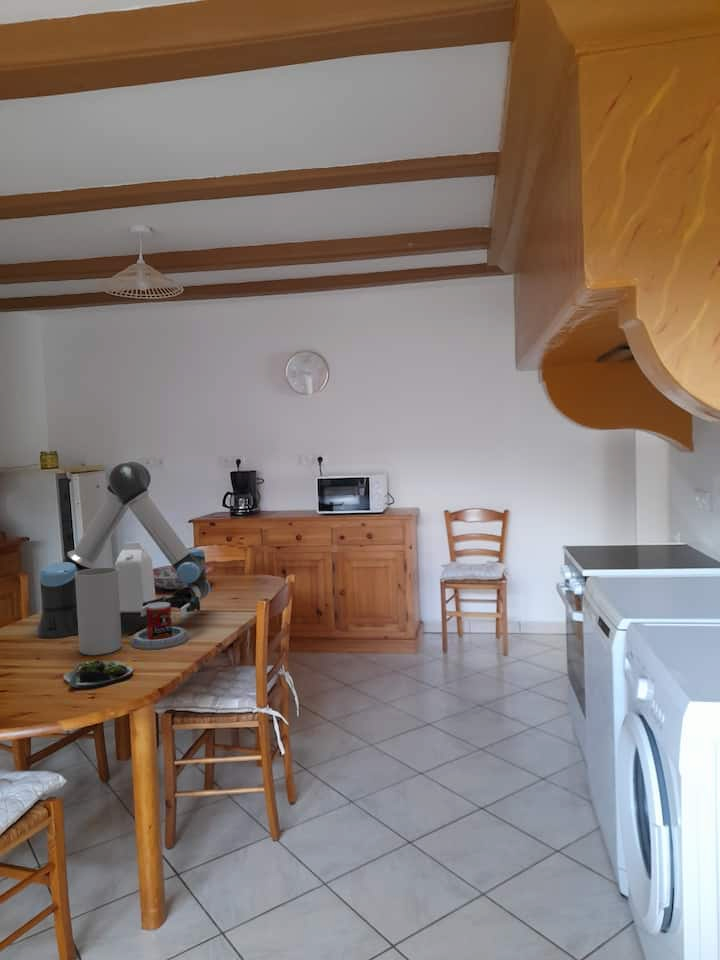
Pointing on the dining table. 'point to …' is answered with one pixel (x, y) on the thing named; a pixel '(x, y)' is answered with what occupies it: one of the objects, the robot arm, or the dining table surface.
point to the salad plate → (97, 674)
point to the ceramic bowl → (169, 577)
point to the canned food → (159, 620)
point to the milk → (134, 577)
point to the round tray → (159, 640)
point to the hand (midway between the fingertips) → (161, 612)
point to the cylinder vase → (98, 611)
